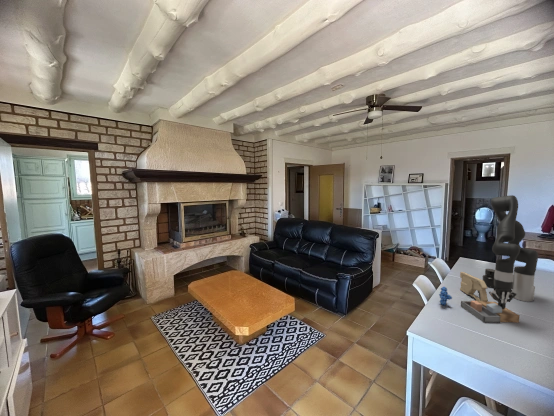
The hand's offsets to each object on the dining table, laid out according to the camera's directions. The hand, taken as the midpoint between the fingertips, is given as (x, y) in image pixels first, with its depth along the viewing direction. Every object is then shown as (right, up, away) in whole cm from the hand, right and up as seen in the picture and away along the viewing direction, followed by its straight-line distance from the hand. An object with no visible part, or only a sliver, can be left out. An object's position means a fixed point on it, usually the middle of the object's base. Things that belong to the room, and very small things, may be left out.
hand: (501, 308), depth 128 cm
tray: (-8, -5, +5) cm, 11 cm away
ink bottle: (+33, -2, +42) cm, 53 cm away
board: (+1, -5, +4) cm, 7 cm away
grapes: (-21, -5, +14) cm, 26 cm away
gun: (+5, -4, +25) cm, 26 cm away
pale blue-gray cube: (-3, -2, +1) cm, 4 cm away
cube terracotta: (-6, -2, +8) cm, 10 cm away
